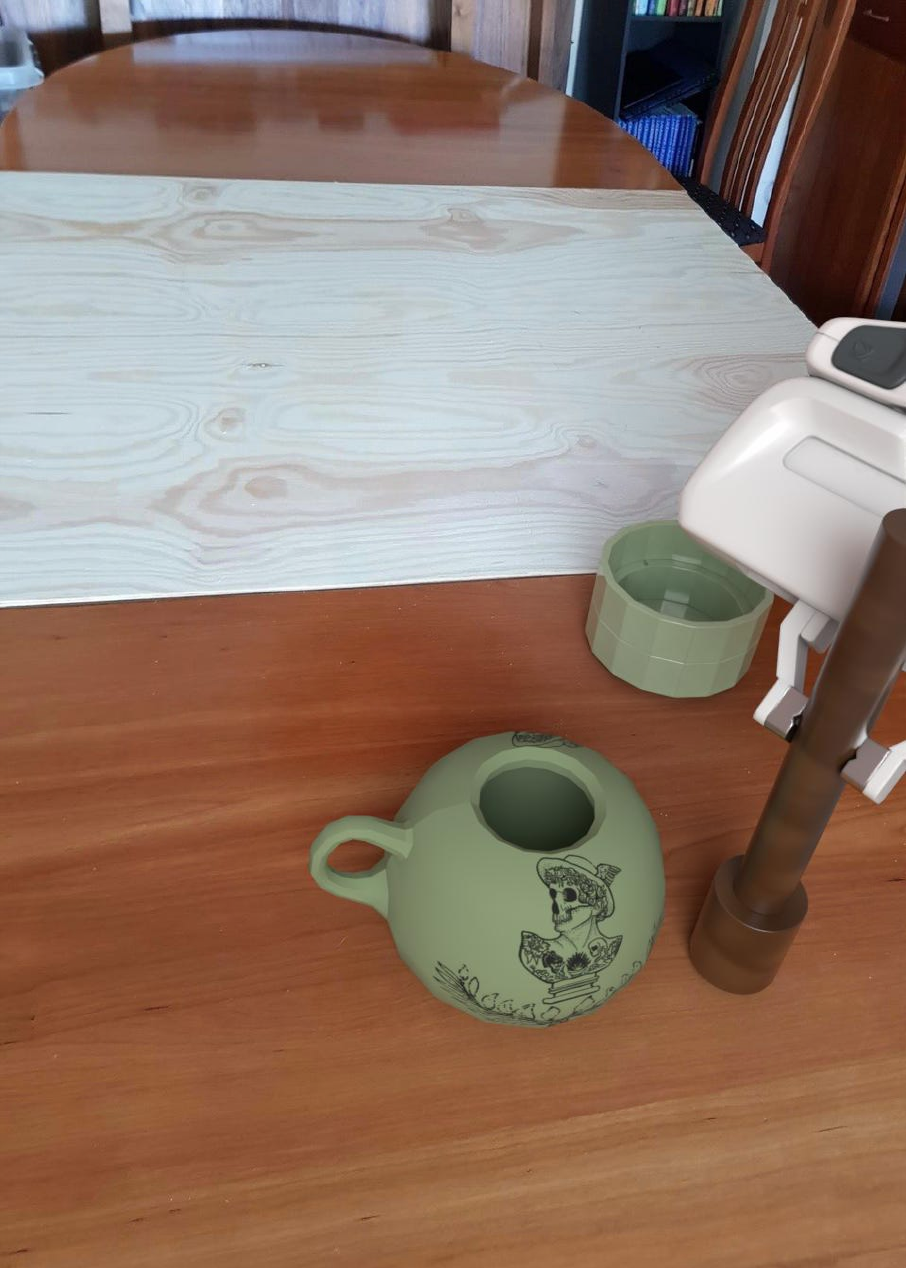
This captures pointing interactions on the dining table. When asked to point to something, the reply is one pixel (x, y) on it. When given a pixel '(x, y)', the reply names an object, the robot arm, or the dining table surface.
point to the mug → (513, 879)
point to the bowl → (673, 613)
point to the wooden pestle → (808, 781)
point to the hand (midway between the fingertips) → (813, 760)
